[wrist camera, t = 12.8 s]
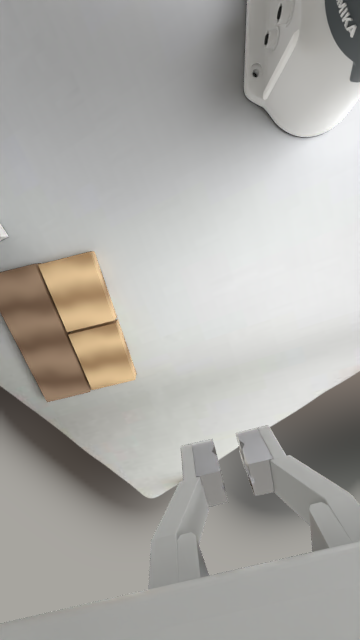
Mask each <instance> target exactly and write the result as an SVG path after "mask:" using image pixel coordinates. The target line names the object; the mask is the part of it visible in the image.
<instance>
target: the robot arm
mask: <svg viewBox="0 0 360 640" xmlns="http://www.w3.org/2000/svg"><path fill="white" fill-rule="evenodd" d="M252 73H255V74H256V75H257V77H254V76H253V74H252ZM244 93H245V95H246V97H247V98H248V99H249V100H250V101H252V102H253V103H255V104H257V105H259V106H261V107H263V108H264V109H265V110H266V111H267V112H268V114H269V115H270V116H271V118H272V119H273V120H274V122H275V123H276V124H277V125H278V126H279V127H280V128H282V129H283V130H284V131H286V132H288V133H290V134H292V135H295V136H300V137H312V136H317V135H320V134H323V133H325V132H327V131H329V130H331V129H332V128H334V127H335V126H336V125H338V124H339V123H340V122H341V121H342V120H343V119H344V118H345V117H346V116H347V115H348V113H349V112H350V111H351V109H352V108H353V106H354V105H355V104H356V102H357V101H358V100H359V99H360V0H247V14H246V42H245V69H244ZM236 437H237V441H238V444H239V451H240V455H241V459H242V462H243V465H244V468H245V470H246V471H247V474H248V479H249V482H250V485H251V487H252V490H253V493H254V496H257V495H262V494H267V493H272V492H275V494H276V495H277V496H279V497H280V498H281V499H282V500H283V501H284V502H285V503H286V504H287V505H288V506H289V507H290V508H291V509H292V510H293V511H295V512H296V513H297V514H298V515H299V516H300V517H301V518H302V519H303V520H304V521H305V522H306V523H307V524H309V526H310V528H311V540H312V552H310V553H305V554H301V555H297V556H292V557H288V558H283V559H279V560H275V561H270V562H266V563H262V564H257V565H253V566H249V567H244V568H240V569H236V570H231V571H227V572H222V573H218V574H214V575H209V574H208V571H207V568H206V565H205V562H204V559H203V556H202V553H201V550H200V547H199V543H200V539H201V536H202V533H203V529H204V525H205V522H206V518H207V515H208V511H209V507H212V506H216V505H219V504H223V503H227V502H228V499H227V495H226V491H225V487H224V483H223V478H222V474H221V470H220V466H219V462H218V458H217V454H216V450H215V446H214V442H213V439H209V440H205V441H200V442H195V443H191V444H187V445H182V446H181V458H182V471H183V481H180V482H179V484H178V486H177V488H176V491H175V492H174V494H173V497H172V499H171V501H170V503H169V505H168V507H167V509H166V511H165V513H164V515H163V517H162V519H161V521H160V523H159V525H158V527H157V529H156V531H155V533H154V535H153V538H152V540H151V553H150V571H149V589H148V590H144V591H140V592H135V593H131V594H127V595H122V596H118V597H114V598H110V599H105V600H101V601H97V602H92V603H88V604H84V605H79V606H74V607H70V608H66V609H61V610H57V611H53V612H48V613H44V614H39V615H36V616H31V617H26V618H23V619H18V620H13V621H9V622H4V623H0V640H360V505H359V503H358V502H357V501H356V500H355V498H354V497H353V496H352V494H350V493H349V492H347V491H346V490H344V489H342V488H341V487H339V486H338V485H336V484H335V483H333V482H331V481H330V480H328V479H327V478H325V477H323V476H322V475H320V474H319V473H317V472H315V471H314V470H312V469H311V468H309V467H308V466H306V465H305V464H303V463H301V462H300V461H298V460H297V459H295V458H293V457H292V456H290V455H289V456H286V454H285V453H284V451H283V449H282V448H281V446H280V444H279V443H278V441H277V439H276V437H275V436H274V434H273V432H272V430H271V429H270V427H269V426H268V425H266V426H262V427H258V428H254V429H250V430H246V431H242V432H238V433H236Z"/></svg>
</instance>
